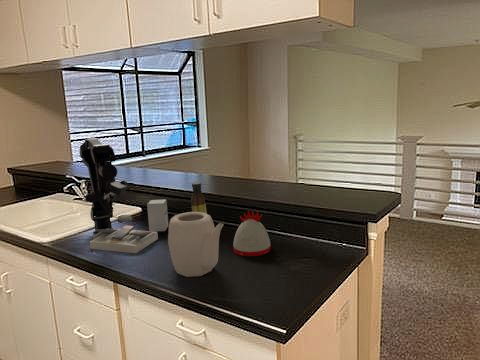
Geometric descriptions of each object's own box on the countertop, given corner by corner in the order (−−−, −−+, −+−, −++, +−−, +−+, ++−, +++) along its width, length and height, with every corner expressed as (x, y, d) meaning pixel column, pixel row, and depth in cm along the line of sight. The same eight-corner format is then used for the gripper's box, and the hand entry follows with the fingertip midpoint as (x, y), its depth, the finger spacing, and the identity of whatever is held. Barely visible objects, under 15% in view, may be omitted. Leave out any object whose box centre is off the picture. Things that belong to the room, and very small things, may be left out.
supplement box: (165, 231, 176) (163, 203, 174) (149, 231, 177) (146, 203, 174) (169, 226, 184) (166, 199, 181) (152, 226, 184) (150, 199, 181)
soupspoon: (122, 225, 192) (134, 222, 196) (122, 218, 191) (134, 215, 196) (101, 215, 207) (113, 213, 212) (101, 209, 207) (113, 206, 211)
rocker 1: (95, 233, 161) (95, 229, 161) (109, 233, 170) (110, 229, 170) (104, 234, 160) (104, 229, 160) (118, 234, 168) (118, 229, 168)
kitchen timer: (267, 256, 143) (266, 216, 140) (230, 255, 146) (227, 215, 143) (272, 243, 156) (271, 205, 153) (237, 242, 159) (236, 205, 156)
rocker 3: (129, 237, 156) (129, 232, 156) (142, 235, 164) (142, 230, 164) (139, 237, 154) (139, 233, 154) (151, 235, 163) (152, 231, 163)
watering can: (207, 292, 119) (203, 230, 115) (154, 269, 137) (149, 215, 133) (243, 273, 130) (240, 217, 126) (189, 255, 148) (185, 205, 144)
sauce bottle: (208, 224, 183) (206, 181, 180) (206, 228, 177) (203, 184, 173) (194, 224, 184) (191, 181, 180) (191, 228, 178) (188, 184, 174)
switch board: (88, 248, 159) (87, 238, 159) (113, 235, 174) (112, 225, 173) (137, 253, 152) (136, 242, 151) (159, 239, 166) (159, 229, 166)
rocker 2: (113, 240, 159) (112, 236, 159) (125, 228, 167) (124, 225, 166) (122, 241, 158) (121, 237, 157) (134, 229, 165) (133, 225, 165)
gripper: (106, 181, 149) (110, 221, 153) (135, 171, 167) (138, 208, 170) (81, 180, 153) (86, 219, 156) (112, 171, 170) (116, 207, 173)
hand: (108, 213), depth 164 cm, fingers closed
